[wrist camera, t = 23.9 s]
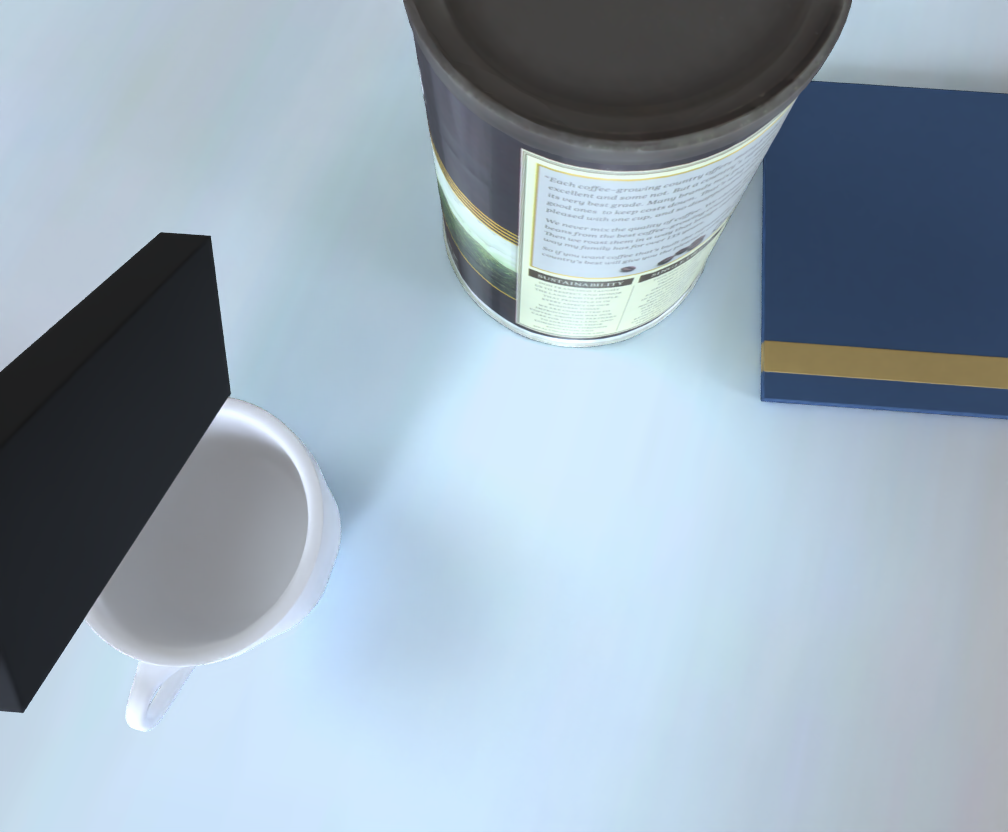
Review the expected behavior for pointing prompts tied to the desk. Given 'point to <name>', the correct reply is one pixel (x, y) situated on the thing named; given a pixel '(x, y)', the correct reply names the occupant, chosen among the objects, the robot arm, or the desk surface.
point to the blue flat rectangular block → (887, 251)
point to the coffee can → (603, 144)
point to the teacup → (221, 558)
